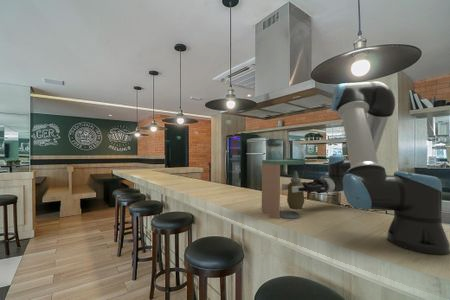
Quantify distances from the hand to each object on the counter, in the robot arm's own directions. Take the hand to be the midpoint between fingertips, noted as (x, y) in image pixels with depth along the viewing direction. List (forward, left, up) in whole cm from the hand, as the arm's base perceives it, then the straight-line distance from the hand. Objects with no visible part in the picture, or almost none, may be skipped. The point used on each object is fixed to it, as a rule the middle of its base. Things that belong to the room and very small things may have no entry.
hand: (287, 188), depth 103 cm
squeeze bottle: (0, -5, -10) cm, 11 cm away
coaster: (-1, +1, -12) cm, 12 cm away
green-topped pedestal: (+2, +1, -12) cm, 13 cm away
